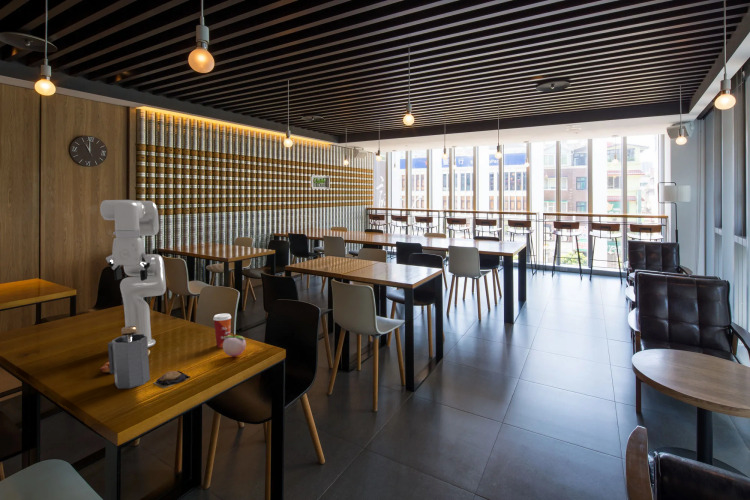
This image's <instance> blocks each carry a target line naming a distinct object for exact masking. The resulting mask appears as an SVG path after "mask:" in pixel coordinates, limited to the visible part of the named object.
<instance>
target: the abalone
mask: <svg viewBox="0 0 750 500" xmlns="http://www.w3.org/2000/svg"><path fill="white" fill-rule="evenodd" d="M190 378H191V376H189V375H188V374H185V373H184V372H182V371H180V370H177V371H176V370H170V371H167V372H165V373H164V374H163V375H161V376H160V377H159V378H157V379H156V381H153V385H156V386H157V387H159V388H161V389H166V388H169V387H172V386H175V385H177V384H181V383H183V382H185V381H187V380H189V379H190Z"/></svg>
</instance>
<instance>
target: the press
mask: <svg viewBox="0 0 750 500" xmlns="http://www.w3.org/2000/svg"><path fill="white" fill-rule="evenodd" d="M148 350H149V347H148V345H147V336H146V335H144V334H132V342H128V336H127V335H121V336H118V337H116V338H114V339H112V340H111V341H110V342H108V343H107V351H108V360H109V366H110V372H109V374H111V375H114V384H115V387H117V389H132V388H135V387H139V386H143V385H145V384H146V383H147V382H148V381H150V379H151V377H150V361H149V355H148Z"/></svg>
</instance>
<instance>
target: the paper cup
mask: <svg viewBox="0 0 750 500" xmlns="http://www.w3.org/2000/svg"><path fill="white" fill-rule="evenodd" d="M231 319H232V316H231V314H230V313H218V314H215V315H214V316H213V318H212V320H213V324H214V325H213V326H214V334H215V340H216V341H215V342H216V347H217V348H219V349H223V342H224V340H225V339H226V338H227V337H226V338H224V337H225V336H229V335H231V326H232V325H231V324H232V323H231V321H232V320H231ZM223 338H224V339H223Z"/></svg>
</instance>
